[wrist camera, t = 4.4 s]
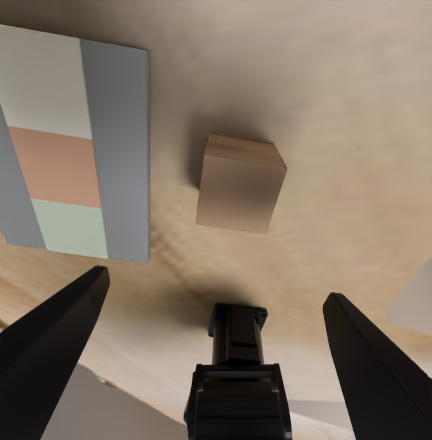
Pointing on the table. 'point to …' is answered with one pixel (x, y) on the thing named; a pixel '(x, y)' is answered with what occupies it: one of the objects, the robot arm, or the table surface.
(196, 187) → the table surface
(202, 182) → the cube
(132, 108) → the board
